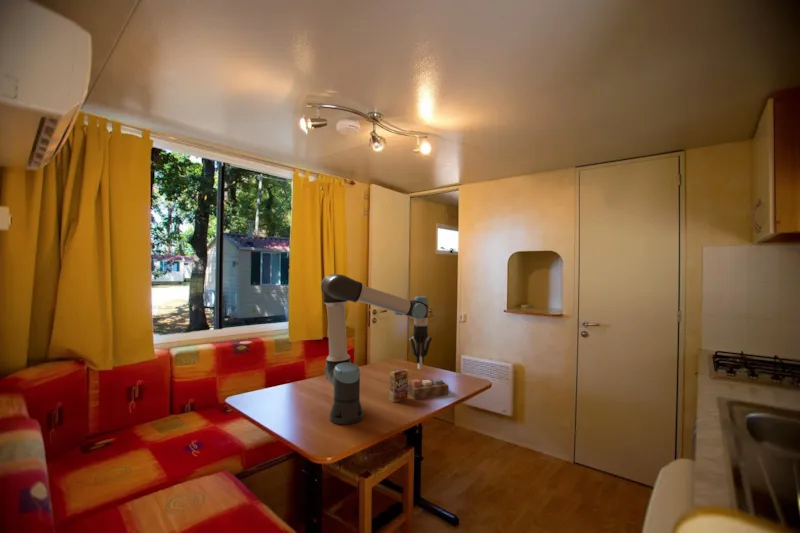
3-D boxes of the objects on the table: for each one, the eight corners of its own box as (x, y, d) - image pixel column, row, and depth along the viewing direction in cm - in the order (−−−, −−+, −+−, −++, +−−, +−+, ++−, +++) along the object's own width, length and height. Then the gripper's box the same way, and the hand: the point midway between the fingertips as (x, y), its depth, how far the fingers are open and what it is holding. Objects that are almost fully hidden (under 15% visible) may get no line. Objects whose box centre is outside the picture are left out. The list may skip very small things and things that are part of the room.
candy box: (393, 403, 178) (394, 372, 178) (389, 400, 181) (389, 370, 181) (408, 399, 182) (408, 370, 183) (403, 397, 186) (403, 368, 186)
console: (414, 399, 183) (414, 389, 183) (405, 391, 194) (405, 382, 194) (448, 394, 190) (448, 385, 190) (438, 387, 201) (438, 378, 201)
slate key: (435, 388, 192) (436, 381, 192) (432, 386, 196) (432, 379, 196) (442, 387, 193) (442, 380, 193) (439, 385, 197) (439, 378, 197)
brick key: (414, 389, 187) (414, 382, 187) (411, 387, 191) (411, 379, 191) (420, 388, 189) (421, 381, 189) (417, 386, 192) (417, 379, 192)
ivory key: (425, 390, 190) (425, 382, 190) (422, 387, 193) (422, 380, 193) (431, 389, 191) (431, 381, 191) (428, 386, 195) (428, 379, 195)
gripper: (412, 326, 185) (411, 371, 185) (434, 325, 190) (433, 369, 189) (407, 324, 192) (405, 367, 192) (428, 323, 197) (427, 366, 196)
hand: (419, 368), depth 191 cm, fingers closed
